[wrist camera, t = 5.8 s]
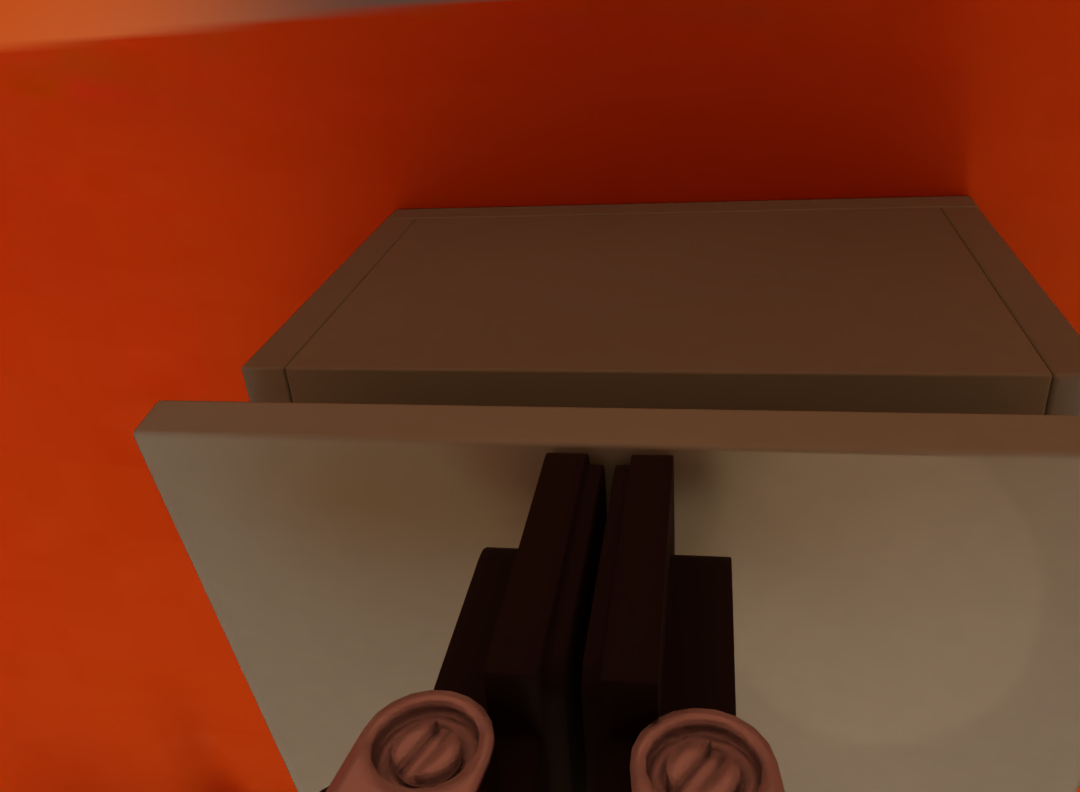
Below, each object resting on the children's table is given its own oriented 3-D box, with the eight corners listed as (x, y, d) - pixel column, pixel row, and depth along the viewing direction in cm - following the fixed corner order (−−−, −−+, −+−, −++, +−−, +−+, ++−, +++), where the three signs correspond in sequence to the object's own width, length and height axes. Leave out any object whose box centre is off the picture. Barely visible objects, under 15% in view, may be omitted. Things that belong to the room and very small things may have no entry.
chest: (395, 208, 23) (239, 367, 16) (970, 195, 21) (1113, 375, 13) (465, 664, 31) (383, 921, 23) (895, 694, 28) (960, 992, 21)
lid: (157, 398, 13) (129, 433, 13) (1200, 414, 11) (1229, 457, 10) (382, 922, 23) (372, 956, 22) (961, 993, 21) (969, 1034, 20)
